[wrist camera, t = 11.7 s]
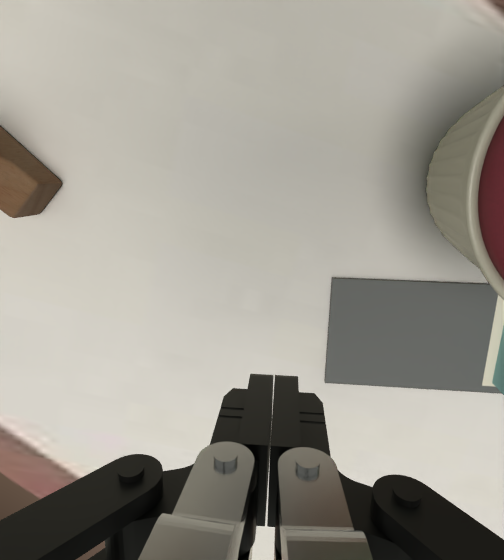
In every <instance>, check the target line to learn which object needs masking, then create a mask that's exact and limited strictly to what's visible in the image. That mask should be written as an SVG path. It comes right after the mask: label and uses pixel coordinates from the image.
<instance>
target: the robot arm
mask: <svg viewBox="0 0 504 560" xmlns="http://www.w3.org/2000/svg"><path fill="white" fill-rule="evenodd" d="M272 397H273V375H263V374H250V379H249V384H248V389H235V388H233V389H232V390H231V391H230V392H228V393H227V394H226V395H225V396H224V398H223V402H222V405H221V409H220V412H219V416H218V419H217V422H216V426H215V429H214V432H213V436H212V439H211V443H210V445H209V446H207V447H205V448H204V449H203V450H202V451H201V452H200V453H199V455H198V456H197V459H196V461H195V463H194V464H193V465H190V466H188V467H185V468H180V469H175V470H169V471H163V469H162V465H161V464H160V462H159V461H158V460H157V459H155V458H154V457H152V456H149V455H143V454H134V455H128V456H124V457H121V458H119V459H117V460H115V461H113V462H111V463H109V464H107V465H105V466H103V467H101V468H99V469H97V470H96V471H94V472H92V473H90V474H88V475H86V476H84V477H82V478H80V479H78V480H76V481H75V482H73V483H71V484H69V485H67V486H65V487H63V488H61V489H59V490H57V491H56V492H54V493H52V494H50V495H48V496H46V497H44V498H42V499H40V500H39V501H36V502H35V503H33V504H31V505H29V506H27V507H25V508H23V509H21V510H20V511H18V512H16V513H14V514H12V515H10V516H8V517H6V518H4V519H2V520H1V521H0V560H75V559H77V558H79V557H80V556H82V555H83V554H85V553H86V552H88V551H89V550H91V549H92V548H94V547H95V546H97V545H98V544H100V543H101V542H103V541H104V540H105V546H106V548H104V549H103V550H101V551H100V552H98V553H97V554H95V555H94V556H92V557H91V558H89V559H88V560H251V559H252V546H253V544H254V541H255V534H256V526H265V516H266V501H267V487H268V472H269V498H268V526H269V527H275V546H274V560H504V540H503V539H502V538H500V537H499V536H498V535H496V534H495V533H493V532H492V531H490V530H489V529H488V528H486V527H485V526H483V525H482V524H480V523H479V522H478V521H476V520H475V519H473V518H472V517H471V516H469V515H468V514H466V513H465V512H463V511H462V510H461V509H459V508H458V507H456V506H455V505H453V504H452V503H451V502H449V501H448V500H446V499H445V498H444V497H442V496H441V495H439V494H438V493H436V492H435V491H434V490H432V489H431V488H429V487H428V486H426V485H425V484H423V483H422V482H420V481H418V480H416V479H413V478H411V477H407V476H403V475H387V476H383V477H381V478H379V479H378V480H377V481H376V482H375V483H374V485H373V487H370V486H367V485H364V484H361V483H358V482H355V481H353V480H351V479H349V478H347V477H346V476H344V475H343V474H341V473H340V472H339V471H338V470H337V466H336V464H335V462H334V461H333V459H332V458H331V456H330V450H329V443H328V436H327V429H326V424H325V416H324V409H323V403H322V402H321V400H320V399H319V398H318V397H317V396H316V395H315V393H301V392H299V390H298V376H281V375H275V385H274V400H273V415H272ZM271 424H272V430H271ZM270 443H271V444H270ZM269 457H270V471H269Z"/></svg>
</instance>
